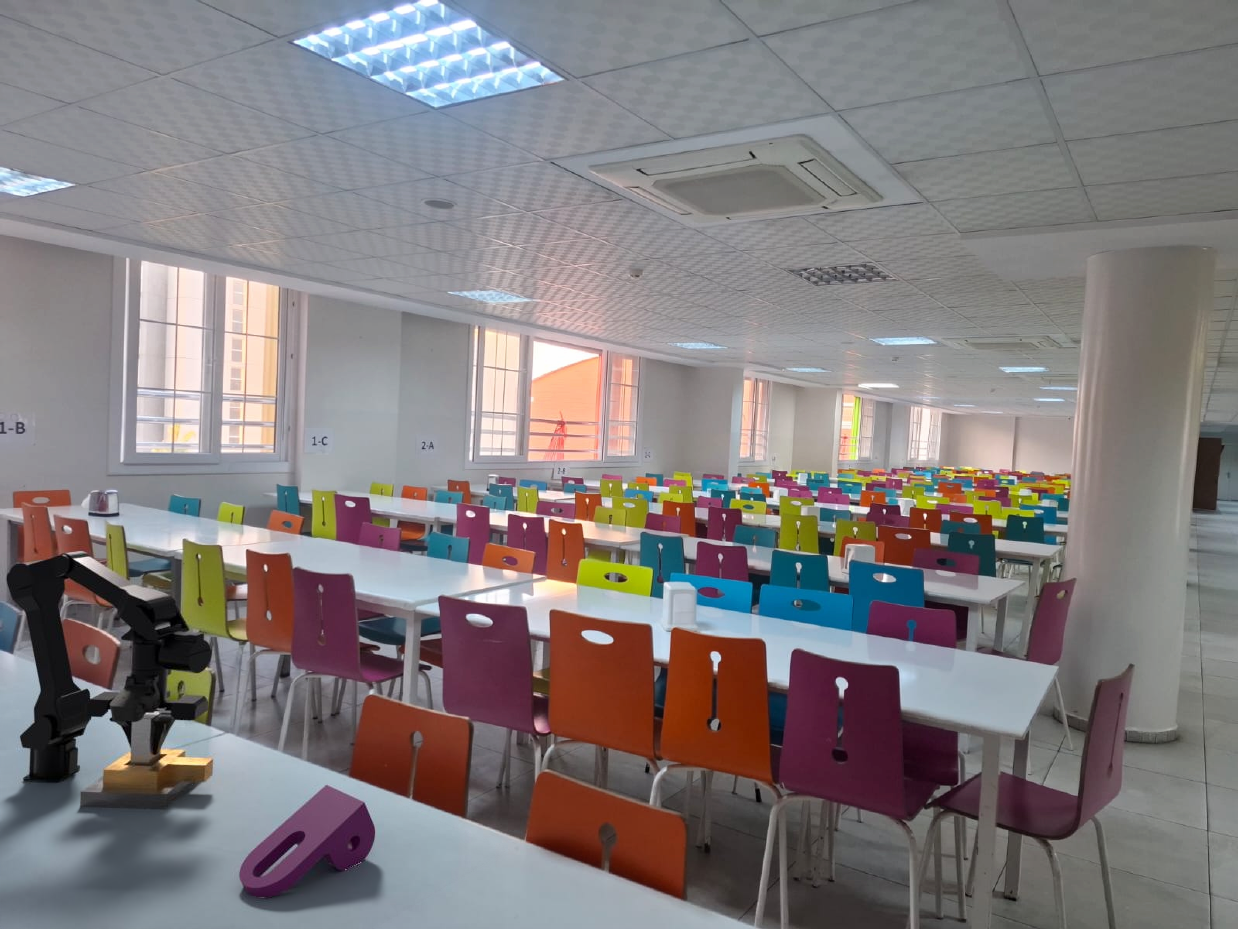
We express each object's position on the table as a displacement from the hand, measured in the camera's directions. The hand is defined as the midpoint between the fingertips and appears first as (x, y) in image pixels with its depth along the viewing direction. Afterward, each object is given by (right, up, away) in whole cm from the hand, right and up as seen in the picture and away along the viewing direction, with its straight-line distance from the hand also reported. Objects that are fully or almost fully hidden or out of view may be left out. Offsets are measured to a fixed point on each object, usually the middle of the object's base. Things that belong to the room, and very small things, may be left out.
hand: (145, 753), depth 146 cm
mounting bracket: (+37, -10, -23) cm, 45 cm away
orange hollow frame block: (+2, -7, 0) cm, 7 cm away
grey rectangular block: (0, -2, 0) cm, 2 cm away
